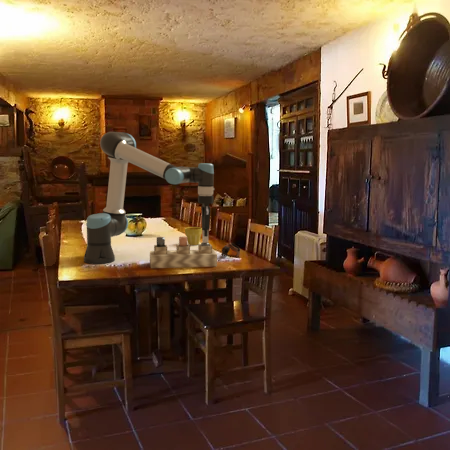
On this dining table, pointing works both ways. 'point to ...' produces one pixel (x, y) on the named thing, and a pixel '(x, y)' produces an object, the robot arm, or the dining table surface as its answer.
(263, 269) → the dining table surface
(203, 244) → the knob far
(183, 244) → the knob middle
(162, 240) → the knob near
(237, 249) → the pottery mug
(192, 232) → the plant pot
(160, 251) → the beige long block
